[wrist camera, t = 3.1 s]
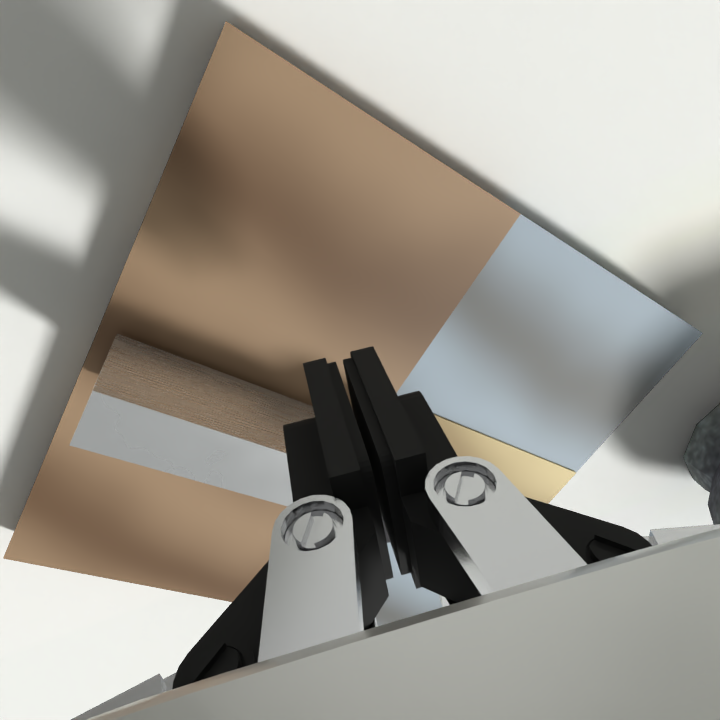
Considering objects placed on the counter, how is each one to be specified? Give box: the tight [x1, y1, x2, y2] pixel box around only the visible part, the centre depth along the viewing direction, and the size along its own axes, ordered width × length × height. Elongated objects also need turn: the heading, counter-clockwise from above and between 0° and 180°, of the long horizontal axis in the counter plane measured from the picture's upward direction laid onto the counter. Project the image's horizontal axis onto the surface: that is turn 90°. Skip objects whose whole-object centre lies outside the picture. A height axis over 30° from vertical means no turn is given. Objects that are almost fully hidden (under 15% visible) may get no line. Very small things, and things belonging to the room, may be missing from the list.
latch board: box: [4, 21, 703, 626], centre depth 20 cm, size 19×19×1 cm
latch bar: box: [70, 334, 390, 543], centre depth 17 cm, size 11×3×3 cm, turn 59°
